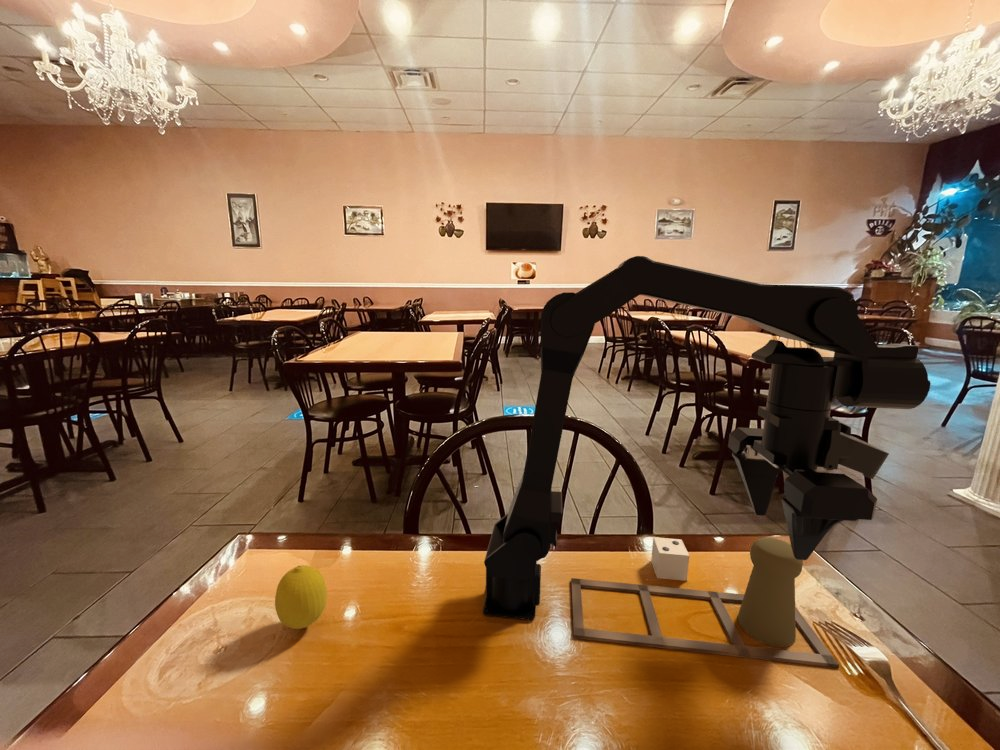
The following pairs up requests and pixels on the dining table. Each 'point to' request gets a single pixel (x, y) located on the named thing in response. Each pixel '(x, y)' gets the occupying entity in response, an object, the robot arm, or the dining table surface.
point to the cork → (771, 593)
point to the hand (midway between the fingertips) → (778, 534)
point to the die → (670, 559)
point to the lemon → (300, 597)
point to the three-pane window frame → (659, 641)
